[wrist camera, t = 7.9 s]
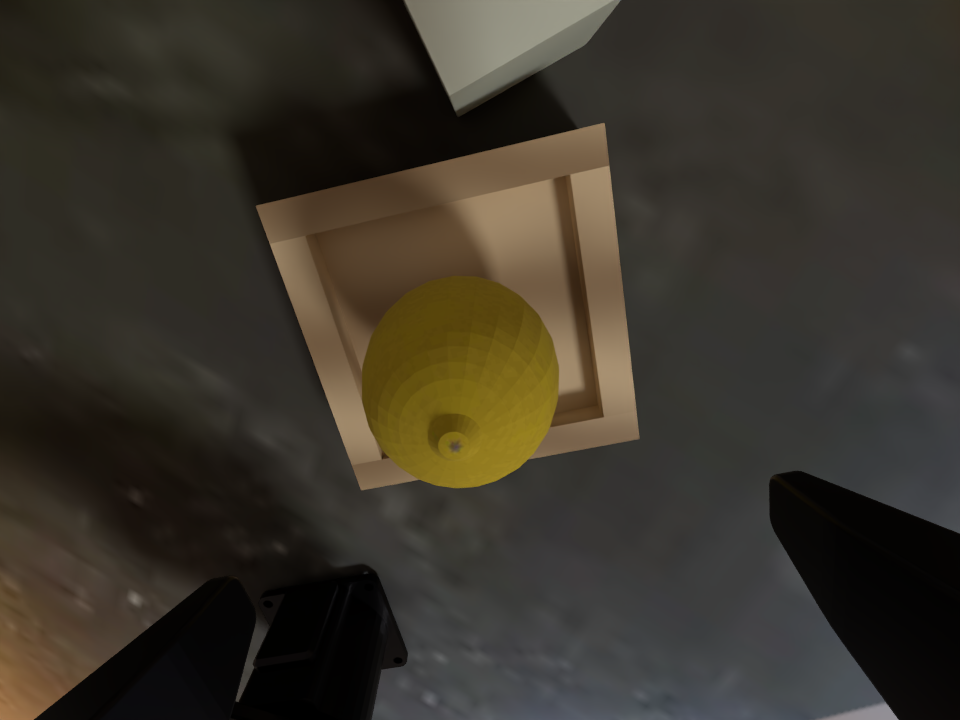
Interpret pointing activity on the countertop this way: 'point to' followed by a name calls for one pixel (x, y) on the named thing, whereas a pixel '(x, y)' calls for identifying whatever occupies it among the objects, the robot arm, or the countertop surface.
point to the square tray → (467, 274)
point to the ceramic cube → (500, 40)
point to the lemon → (460, 382)
